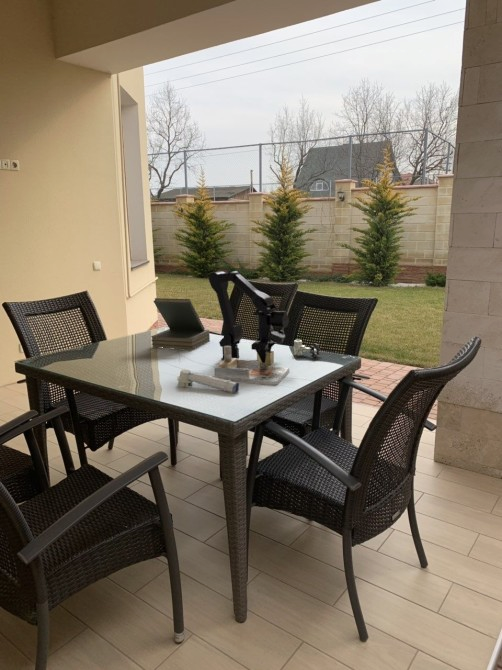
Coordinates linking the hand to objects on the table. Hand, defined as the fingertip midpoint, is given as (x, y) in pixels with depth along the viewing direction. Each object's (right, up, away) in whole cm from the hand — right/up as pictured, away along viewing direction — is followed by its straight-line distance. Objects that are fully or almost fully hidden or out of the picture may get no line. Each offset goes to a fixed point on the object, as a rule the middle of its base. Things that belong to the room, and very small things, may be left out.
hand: (265, 361), depth 210 cm
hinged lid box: (-42, +6, +40) cm, 58 cm away
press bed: (-6, -5, -16) cm, 18 cm away
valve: (+18, +2, +11) cm, 21 cm away
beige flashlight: (-23, -9, -30) cm, 39 cm away
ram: (-16, -3, -13) cm, 21 cm away
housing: (0, -1, 0) cm, 1 cm away
